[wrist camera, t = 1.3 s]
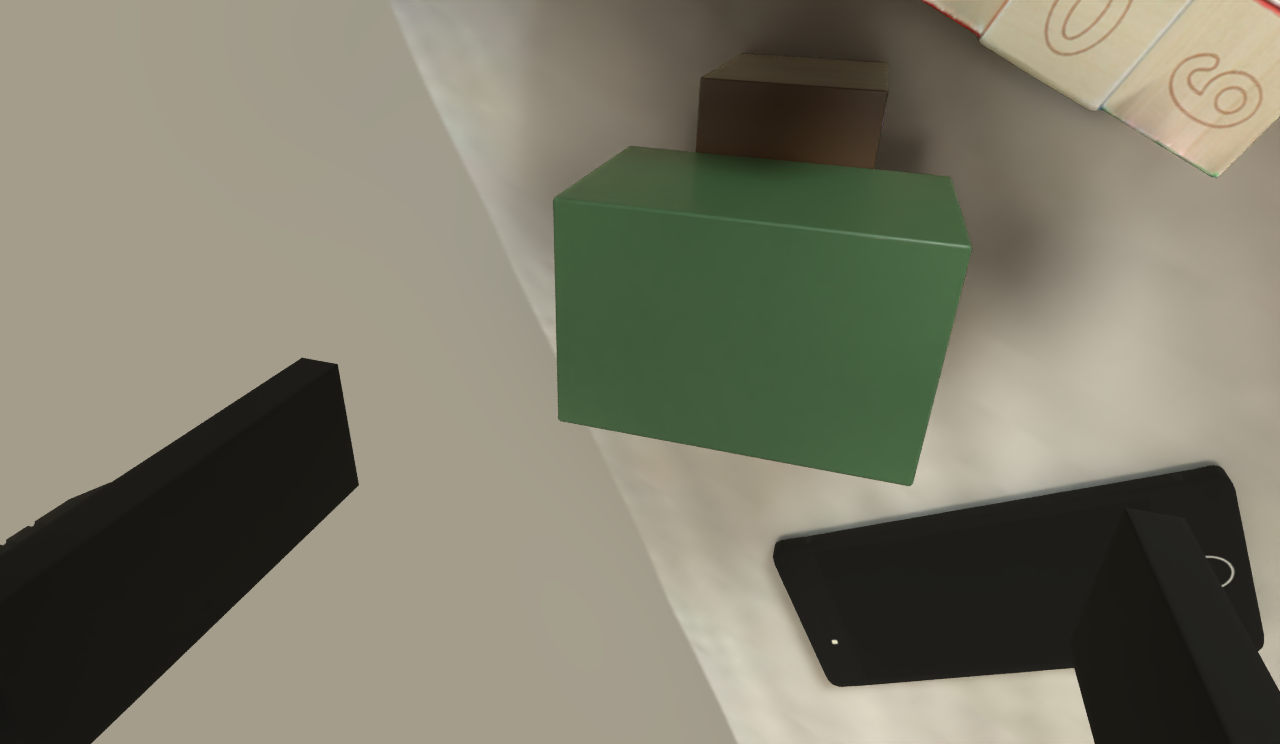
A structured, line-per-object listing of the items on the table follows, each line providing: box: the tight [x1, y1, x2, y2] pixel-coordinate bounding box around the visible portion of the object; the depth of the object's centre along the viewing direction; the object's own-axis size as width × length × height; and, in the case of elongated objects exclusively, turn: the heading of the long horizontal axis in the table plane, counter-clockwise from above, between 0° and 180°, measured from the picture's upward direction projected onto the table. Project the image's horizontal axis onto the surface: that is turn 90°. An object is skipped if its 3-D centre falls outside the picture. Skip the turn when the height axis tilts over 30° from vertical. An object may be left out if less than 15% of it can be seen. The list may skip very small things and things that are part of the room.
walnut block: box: [696, 54, 888, 169], centre depth 26 cm, size 10×5×7 cm, turn 178°
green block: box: [553, 146, 972, 486], centre depth 20 cm, size 6×9×6 cm, turn 88°
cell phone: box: [773, 465, 1264, 687], centre depth 33 cm, size 9×18×1 cm, turn 115°
